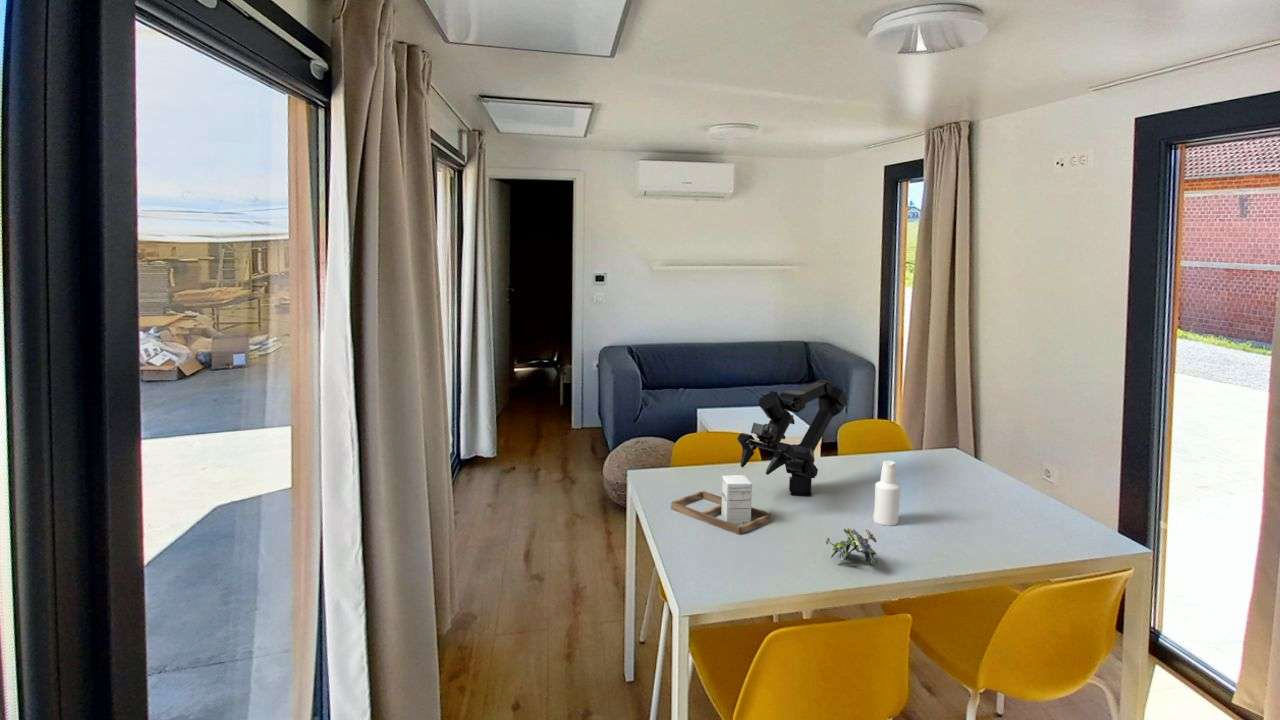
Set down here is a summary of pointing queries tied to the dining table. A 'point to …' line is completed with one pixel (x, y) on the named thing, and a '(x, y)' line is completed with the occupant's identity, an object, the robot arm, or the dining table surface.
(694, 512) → the wooden compartment frame
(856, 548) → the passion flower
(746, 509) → the supplement box
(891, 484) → the spray bottle
